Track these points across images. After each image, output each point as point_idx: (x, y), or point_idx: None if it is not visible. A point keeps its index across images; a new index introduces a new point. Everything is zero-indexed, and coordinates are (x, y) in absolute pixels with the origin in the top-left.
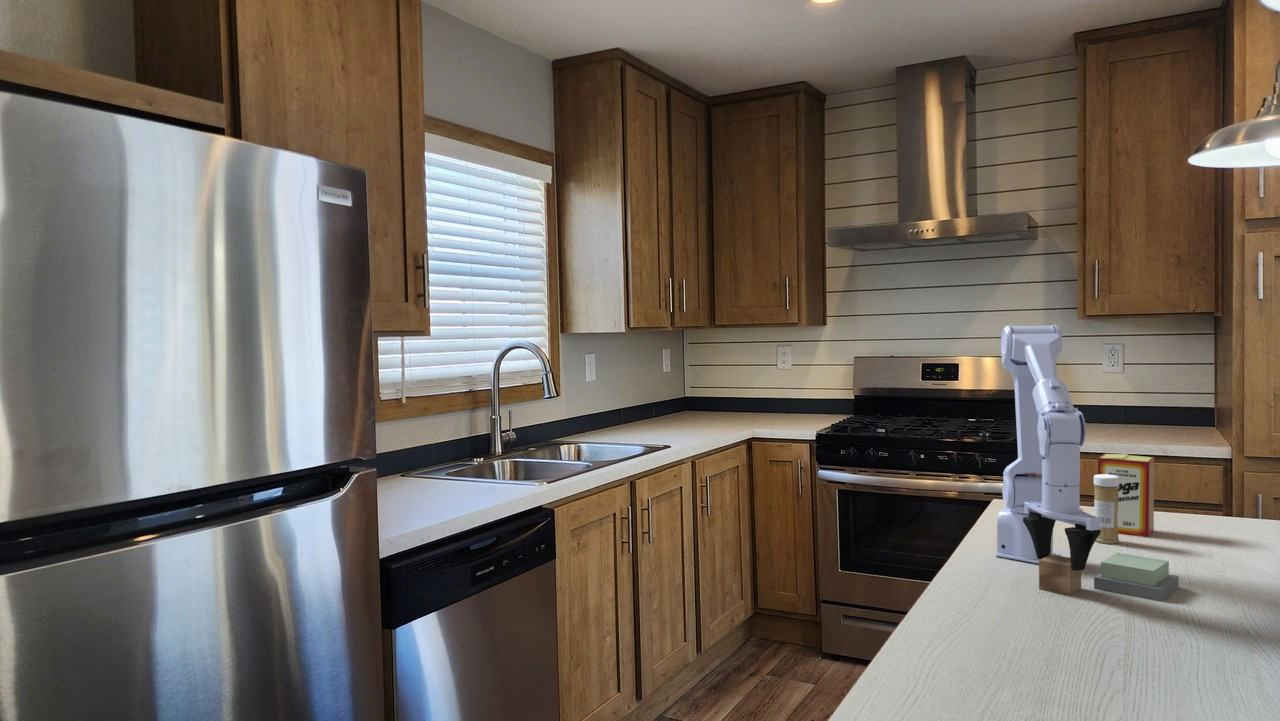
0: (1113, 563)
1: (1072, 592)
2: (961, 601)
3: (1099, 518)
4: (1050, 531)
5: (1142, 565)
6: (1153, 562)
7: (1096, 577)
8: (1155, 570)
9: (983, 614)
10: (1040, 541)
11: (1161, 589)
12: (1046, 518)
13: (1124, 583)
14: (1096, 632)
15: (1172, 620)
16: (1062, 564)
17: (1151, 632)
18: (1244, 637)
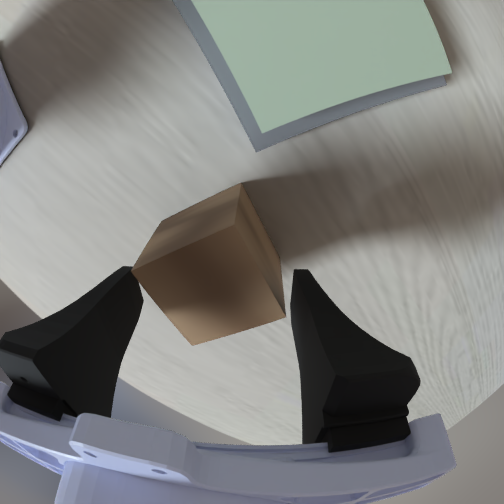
0: (305, 100)
1: (272, 244)
2: (228, 410)
3: (453, 466)
4: (83, 330)
5: (384, 27)
6: None
7: (262, 147)
8: (442, 49)
9: (290, 415)
10: (118, 342)
11: (442, 76)
12: (69, 400)
13: (353, 111)
14: (431, 349)
15: (495, 200)
16: (260, 324)
17: (486, 284)
18: None
